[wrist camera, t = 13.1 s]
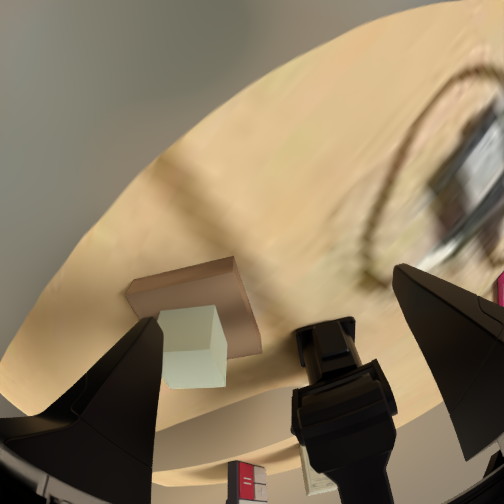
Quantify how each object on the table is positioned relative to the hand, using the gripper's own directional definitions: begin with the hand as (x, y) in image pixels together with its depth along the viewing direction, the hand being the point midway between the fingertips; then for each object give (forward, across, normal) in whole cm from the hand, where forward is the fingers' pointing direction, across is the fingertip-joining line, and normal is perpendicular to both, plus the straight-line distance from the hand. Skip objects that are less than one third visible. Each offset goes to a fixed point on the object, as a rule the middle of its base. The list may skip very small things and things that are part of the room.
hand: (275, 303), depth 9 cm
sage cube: (+10, +8, +10) cm, 17 cm away
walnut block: (+14, +8, +10) cm, 19 cm away
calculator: (+13, +16, +63) cm, 66 cm away
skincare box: (+13, -1, +52) cm, 54 cm away
